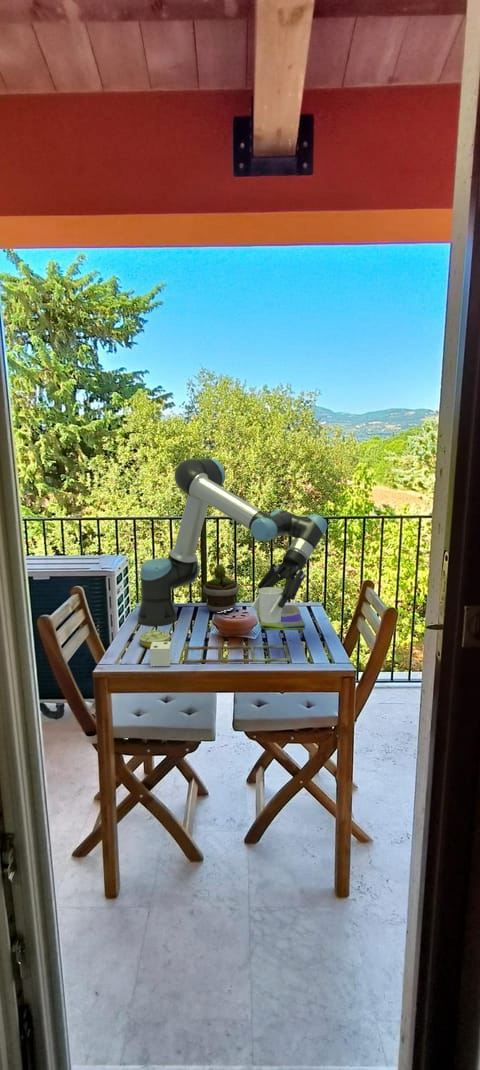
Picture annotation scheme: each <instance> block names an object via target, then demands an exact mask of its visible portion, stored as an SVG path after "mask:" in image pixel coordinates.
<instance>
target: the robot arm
mask: <svg viewBox="0 0 480 1070" xmlns="http://www.w3.org/2000/svg"><path fill="white" fill-rule="evenodd" d="M225 480H226V472H225V469H224V467H223V464H222V463H221V462H220V461H219V460H217V459H215V458H209V457H208V458H207V457H206V458H205V457H204V458H194V459H193V458H190V459H189V458H188V459H185V460H183V461H181V462H180V463H179V464H178V465H177V466H176V468H175V470H174V481H175V485H177V487H178V489H180V490H181V491H182V492H184V493H185V494H186V495H187V497H186V501H185V505H184V509H183V512H182V515H181V516H182V517H181V522H180V523H179V528H178V532H177V536H176V540H175V544H174V548H172V549H171V550H169V552H168V556H167V558H165V557H162V558H159V557H157V558H152V559H148V560H146V561H144V562H143V563H142V564H141V565H140V589H141V603H140V606H139V609H138V613H137V622H138V623H140V624H141V625H144V626H150V627H151V626H152V627H157V626H166V625H169V624H168V623H170V624H172V622H173V623H174V622H176V621H177V619H178V614H177V610H176V608H175V605H174V601H173V593H172V591H173V590H175V589H177V588H181V587H184V586H188V585H189V584H191V583H193V582H195V580H197V579H198V576H199V574H200V565H199V561H198V556H197V554H196V553H197V552H196V551H197V548H198V543H199V541H200V536H201V532H202V529H203V527H204V526H203V525H204V522H205V518H206V515H207V511H208V507H209V505H210V507H212V508H214V509H216V510H218V511H219V512H220V513H222V514H224V515H225V516H227V517H229V518H230V519H232V520H233V521H236V522H237V523H239V524H240V525H241V526H243V527H245V528H247V529H248V530H249V531H250V532H251V535H252V536H253V538H254V539H255V540H257V541H259V542H266V541H271V540H273V539H276V538H279V537H283V536H289V537H292V538H294V540H293V541H292V543H291V544H290V546H289V547H288V549H287V550H286V552H285V553H284V556H283V557H282V561H281V563H280V564H278V565H277V564H275V563H272V564H271V567H270V569H269V570H268V571H267V572H266V573H265V575H264V576H263V578H262V579H261V580H260V581H259V582H258V584H256V587H257V588H258V590H259V589H261V588H265V587H275V585H277V584H278V583H279V582H281V581H283V580H284V585H283V587H284V588H283V589H282V590H283V593H282V596H283V597H282V596H281V595H280V596H279V598H278V599H277V601H276V603H275V604H274V606H273V607H272V609H271V611H270V613H271V614H272V615H273V616H274V617H276V616H277V614H278V612H279V611H280V609H281V608H283V607H284V605H286V603H287V602H288V601H289V600H292V601H294V600H295V598H296V596H297V593H298V591H299V589H300V587H301V584H302V582H303V581H304V580H305V578H306V576H307V575H306V573H305V572H304V571H303V570H304V568H305V566H306V564H307V563H308V560H309V559H310V558H311V556H312V554H313V553H314V551H315V550H316V547H317V546H318V545H319V543H320V541H321V539H322V538H323V537H324V535H325V533H326V530H327V528H328V523H327V521H326V519H325V518H323V517H322V516H321V515H319V514H316V513H315V514H313V513H311V514H310V515H308V517H307V518H305V517H302V516H299V515H296V514H294V513H291V512H288V511H287V510H282V509H279V508H277V509H274V510H273V511H272V512H271V513H270V515H269V514H268V513H266V512H264V511H263V510H261V509H260V508H258V507H256V506H254V505H253V504H251V503H249V502H248V501H246V500H245V499H243V498H241V497H239V496H237V494H235V493H233V492H231V491H229V490H228V489H226V488H225V487H222V486H223V485H224V483H225ZM250 606H251V608H253V609H252V610H254V611H256V612H257V610H258V609H259V592H257V594H256V596H255V599H254V601H253V602H252V604H251V605H250ZM165 624H166V625H165Z"/></svg>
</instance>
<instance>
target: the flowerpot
mask: <svg viewBox="0 0 480 1070" xmlns="http://www.w3.org/2000/svg"><path fill="white" fill-rule="evenodd" d="M227 573H228V571H227V568H226V566H224V565H223V563H217V562H216V563H215V567H214V568H213V571H212V574H213V578H211V579H210V580H207V581H206V582H205V584H204V585H203V587H202V591H203V593H204V594H205V597H206V600H207V601H206V605H205V606H206V608H207V609H208V611H209V613H210V612H211V613H213V614H216V613H215V612H221V611H224V610H227V609H230V608H234V607H236V601H235V600H236V596H237V593H238V592H239V591H240V586H239V584H237V583H236V581H235V580H233V579H232V578H231V577H228V576H227ZM234 609H235V608H234Z"/></svg>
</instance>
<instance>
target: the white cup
mask: <svg viewBox="0 0 480 1070" xmlns="http://www.w3.org/2000/svg"><path fill="white" fill-rule="evenodd" d="M283 590H284V589H283V588H280V587H276V586H273V587H265V588H261V589H259V588H258V592H259V610H260V620H261V621H262V622H265V623H277V622H280V621H281V612H282V608H281V609H280V611H279V612H278V614H277V616H276V617H274V616H273V615H272V614H271V613H270V611H271V609H272V607H273V606H274V604H275V603H276V601H277V599H278V598H279V596H280V595H281V596H282V593H283ZM258 592H257V593H258ZM282 597H283V596H282Z"/></svg>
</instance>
